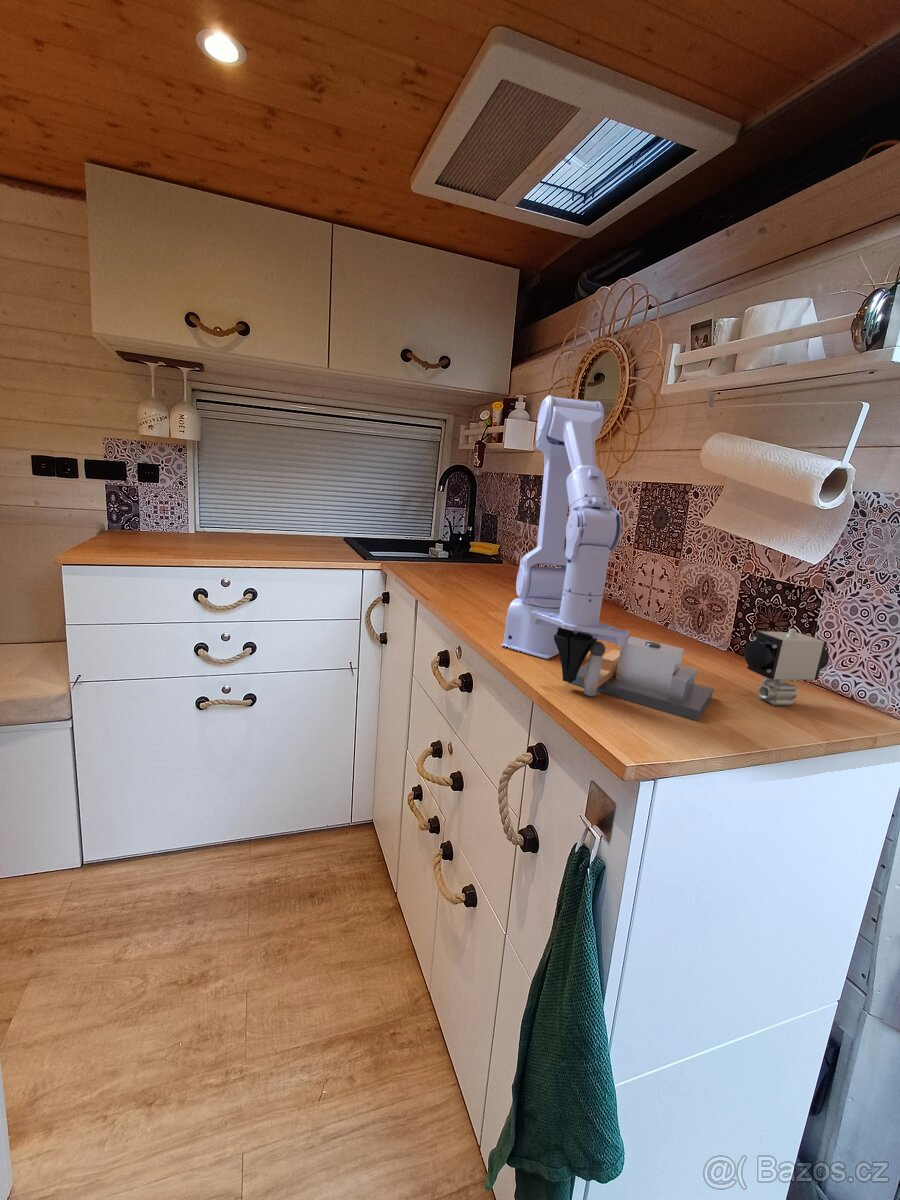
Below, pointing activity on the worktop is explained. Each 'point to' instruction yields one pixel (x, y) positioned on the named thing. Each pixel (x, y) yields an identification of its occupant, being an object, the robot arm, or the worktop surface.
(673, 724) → the worktop surface
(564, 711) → the worktop surface
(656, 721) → the worktop surface
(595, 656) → the ball knob lever
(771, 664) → the pneumatic valve
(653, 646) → the block
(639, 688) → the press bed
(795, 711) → the worktop surface
